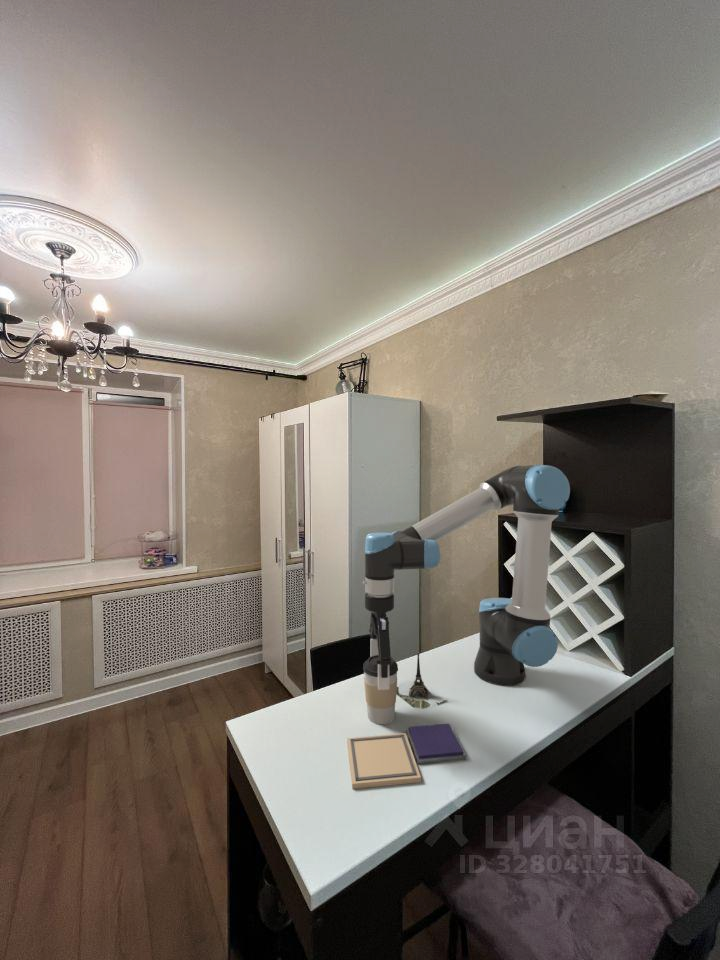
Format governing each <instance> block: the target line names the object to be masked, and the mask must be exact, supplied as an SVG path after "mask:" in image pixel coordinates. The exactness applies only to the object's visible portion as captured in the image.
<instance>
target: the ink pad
mask: <svg viewBox="0 0 720 960" xmlns="http://www.w3.org/2000/svg"><path fill="white" fill-rule="evenodd" d="M405 733H406V735H407V738H408V741H409V744H410V747H411V750H412V753H413V756H414V759H415V762H416V765H425V764H434V763H435V764H436V763H445V762H458V761H466V760H467V754H466V752H465V750H464V748H463V746H462V744H461V742H460V741H459V739H458V737H457V734H456V733H455V731H454V729H453V726H452V725H451V724H450V723H440V724H438V723H437V724H427V725H415V726H414V725H413V726H408V727H406V728H405Z"/></svg>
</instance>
